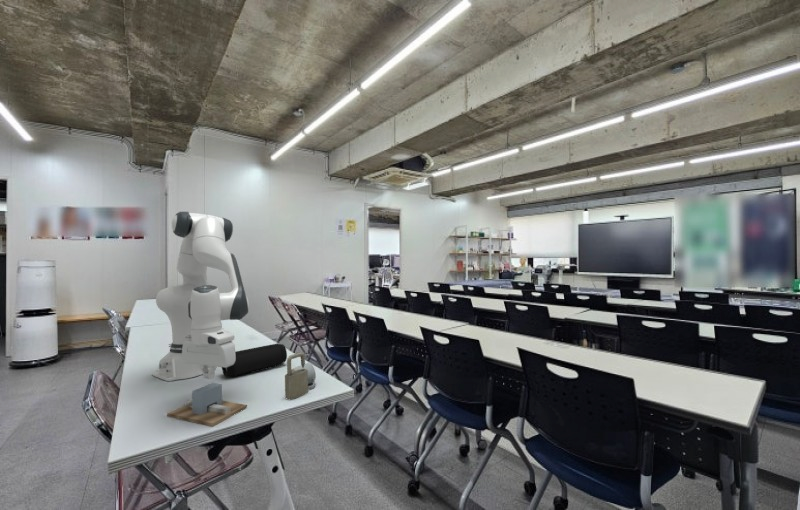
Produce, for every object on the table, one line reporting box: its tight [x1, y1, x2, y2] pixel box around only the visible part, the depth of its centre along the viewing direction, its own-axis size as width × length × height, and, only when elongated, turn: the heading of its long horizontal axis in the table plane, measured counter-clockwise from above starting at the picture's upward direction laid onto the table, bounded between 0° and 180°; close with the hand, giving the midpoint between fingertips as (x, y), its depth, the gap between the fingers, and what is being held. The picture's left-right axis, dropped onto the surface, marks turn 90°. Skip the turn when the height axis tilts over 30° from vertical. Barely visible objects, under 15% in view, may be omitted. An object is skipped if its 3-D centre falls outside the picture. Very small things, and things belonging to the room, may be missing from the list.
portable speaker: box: [221, 343, 288, 378], centre depth 153 cm, size 26×10×10 cm, turn 132°
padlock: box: [284, 352, 309, 400], centre depth 125 cm, size 4×8×15 cm, turn 144°
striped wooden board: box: [166, 399, 248, 428], centre depth 113 cm, size 20×13×2 cm, turn 68°
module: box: [191, 382, 223, 415], centre depth 113 cm, size 4×8×7 cm, turn 158°
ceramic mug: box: [291, 362, 317, 390], centre depth 133 cm, size 11×8×8 cm
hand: (208, 377), depth 113 cm, fingers closed
